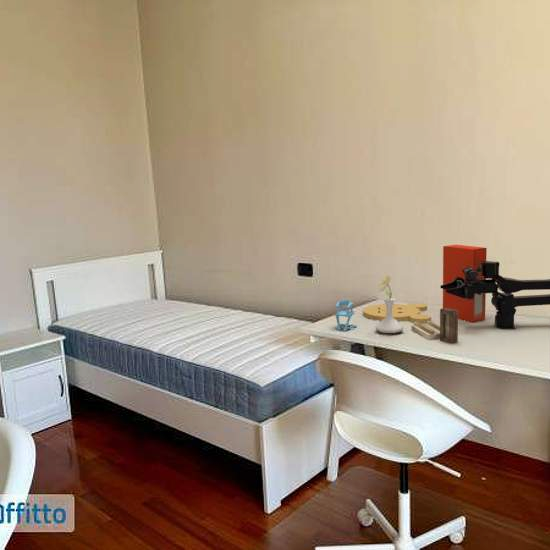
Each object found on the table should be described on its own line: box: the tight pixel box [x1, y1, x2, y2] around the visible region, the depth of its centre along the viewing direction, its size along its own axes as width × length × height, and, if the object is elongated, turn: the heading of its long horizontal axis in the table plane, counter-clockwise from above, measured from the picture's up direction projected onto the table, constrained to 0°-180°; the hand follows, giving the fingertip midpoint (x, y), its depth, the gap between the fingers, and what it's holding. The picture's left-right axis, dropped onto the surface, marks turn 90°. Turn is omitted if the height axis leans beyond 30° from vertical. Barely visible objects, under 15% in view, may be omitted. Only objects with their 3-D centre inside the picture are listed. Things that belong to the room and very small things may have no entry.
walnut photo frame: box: [439, 307, 459, 345], centre depth 201 cm, size 3×6×12 cm, turn 31°
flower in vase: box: [375, 273, 404, 334], centre depth 215 cm, size 13×11×25 cm
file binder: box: [442, 244, 488, 324], centre depth 233 cm, size 8×17×32 cm, turn 27°
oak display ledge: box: [411, 320, 440, 341], centre depth 212 cm, size 9×15×3 cm, turn 11°
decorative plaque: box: [362, 302, 432, 325], centre depth 246 cm, size 31×3×30 cm
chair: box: [334, 299, 357, 332], centre depth 224 cm, size 8×8×12 cm
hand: (443, 288), depth 218 cm, fingers open, 9 cm apart
